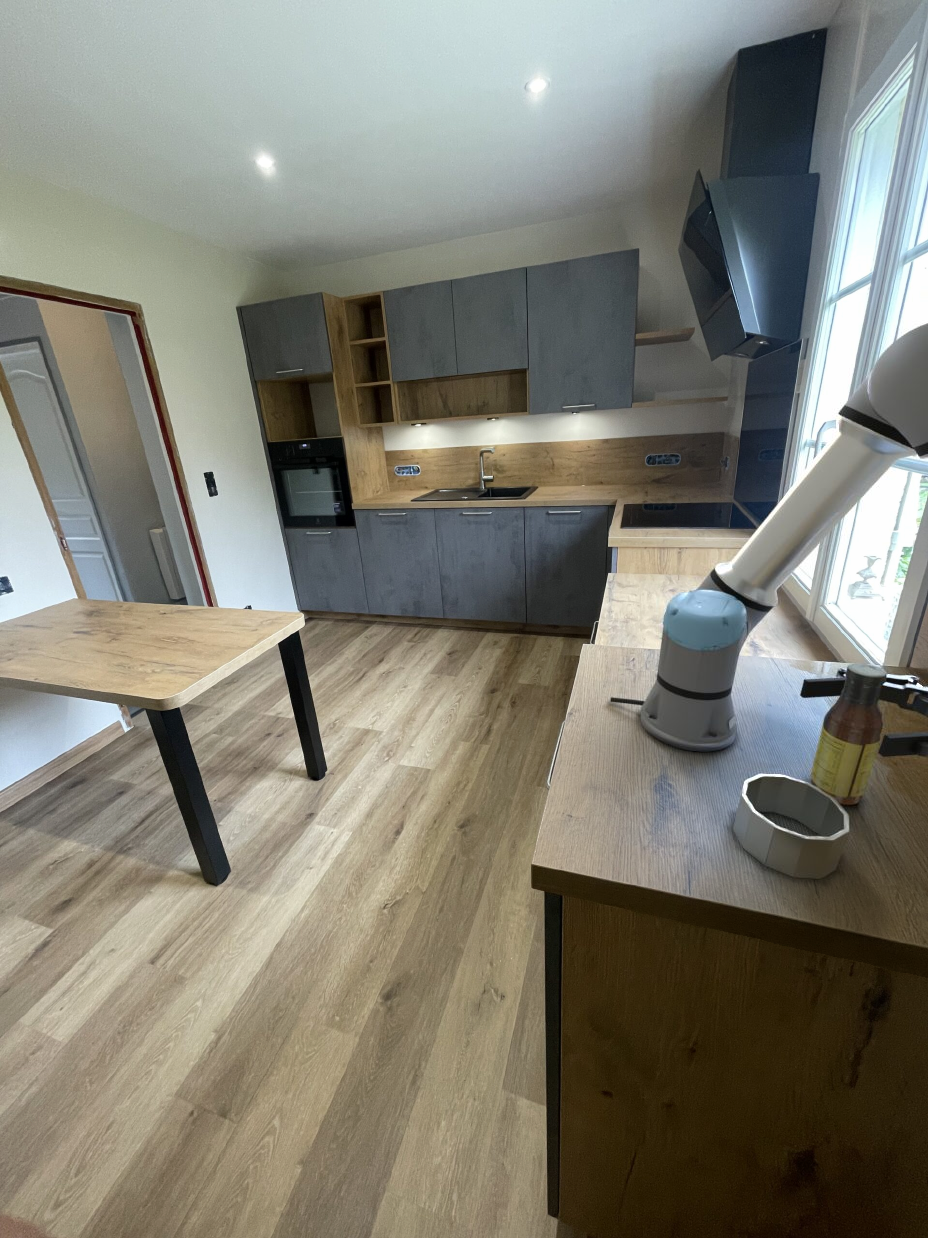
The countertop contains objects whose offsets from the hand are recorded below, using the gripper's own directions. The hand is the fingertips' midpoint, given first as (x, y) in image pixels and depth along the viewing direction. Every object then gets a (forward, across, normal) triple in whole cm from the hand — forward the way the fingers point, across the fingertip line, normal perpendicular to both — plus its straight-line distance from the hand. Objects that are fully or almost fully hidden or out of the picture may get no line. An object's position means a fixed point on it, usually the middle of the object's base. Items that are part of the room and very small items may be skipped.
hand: (839, 714), depth 64 cm
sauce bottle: (-2, 0, -13) cm, 14 cm away
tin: (+10, -8, -13) cm, 18 cm away
